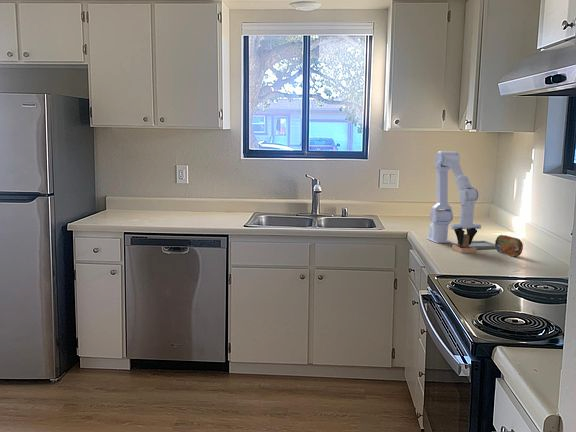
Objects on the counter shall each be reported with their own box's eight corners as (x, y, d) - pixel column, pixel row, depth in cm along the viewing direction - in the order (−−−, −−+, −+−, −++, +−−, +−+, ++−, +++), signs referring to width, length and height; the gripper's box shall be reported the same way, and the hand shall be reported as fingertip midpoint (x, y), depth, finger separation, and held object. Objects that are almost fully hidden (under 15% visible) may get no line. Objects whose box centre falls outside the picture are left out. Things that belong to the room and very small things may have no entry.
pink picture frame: (451, 249, 263) (452, 245, 263) (466, 248, 265) (466, 244, 265) (461, 253, 256) (461, 248, 256) (475, 252, 258) (476, 248, 258)
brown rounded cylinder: (457, 250, 262) (458, 234, 261) (465, 249, 263) (466, 233, 262) (462, 252, 258) (463, 235, 257) (470, 251, 259) (471, 235, 258)
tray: (458, 244, 275) (458, 241, 275) (484, 243, 279) (485, 240, 279) (471, 249, 265) (471, 246, 264) (498, 248, 269) (498, 245, 268)
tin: (493, 251, 263) (495, 233, 262) (499, 250, 264) (501, 232, 263) (517, 258, 249) (519, 239, 248) (523, 258, 250) (525, 239, 249)
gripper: (457, 216, 252) (455, 246, 254) (486, 216, 256) (483, 246, 258) (449, 214, 259) (446, 243, 261) (476, 213, 263) (474, 242, 265)
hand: (464, 244), depth 260 cm, fingers closed on brown rounded cylinder, 4 cm apart
